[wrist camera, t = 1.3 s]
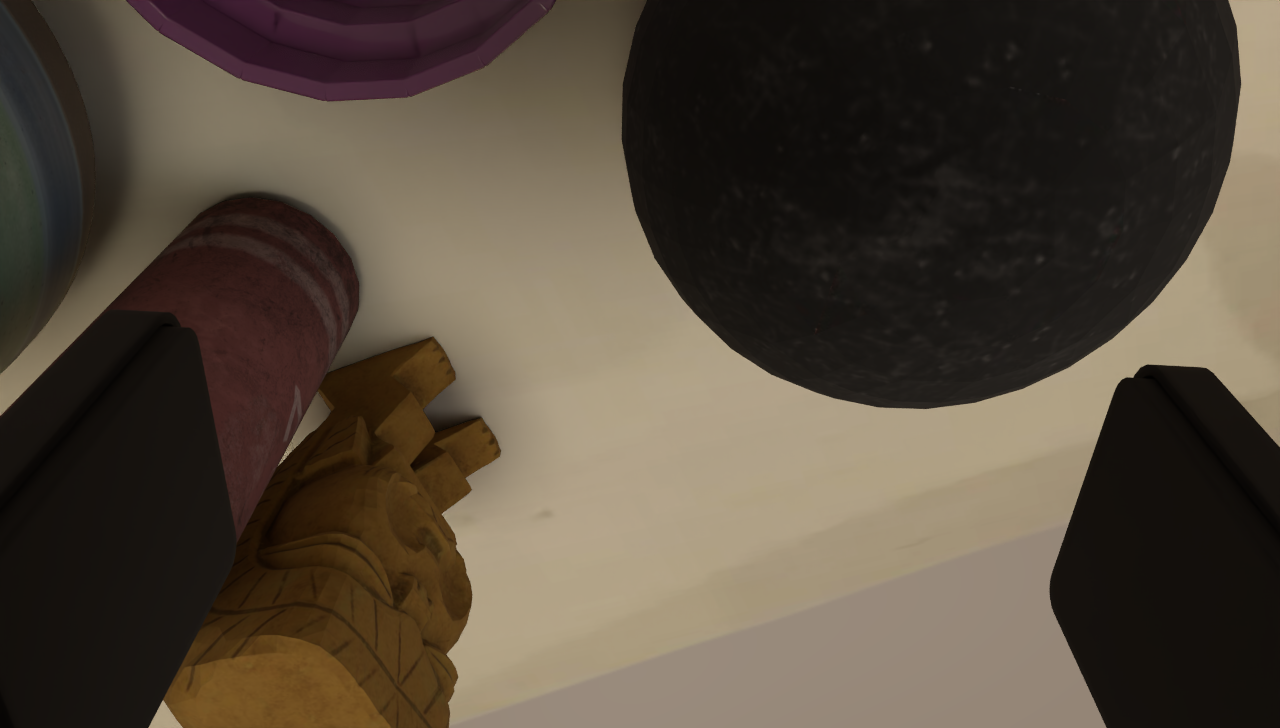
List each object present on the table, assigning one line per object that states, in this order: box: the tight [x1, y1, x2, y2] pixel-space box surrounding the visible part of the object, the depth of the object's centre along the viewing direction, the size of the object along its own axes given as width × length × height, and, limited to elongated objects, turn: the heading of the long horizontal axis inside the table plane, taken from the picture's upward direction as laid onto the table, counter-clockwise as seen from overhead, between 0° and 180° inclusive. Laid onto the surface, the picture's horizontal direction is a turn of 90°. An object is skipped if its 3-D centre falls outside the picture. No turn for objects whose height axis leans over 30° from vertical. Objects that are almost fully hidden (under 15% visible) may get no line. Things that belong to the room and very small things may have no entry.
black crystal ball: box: [622, 0, 1241, 409], centre depth 24 cm, size 13×13×15 cm
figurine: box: [163, 337, 501, 728], centre depth 32 cm, size 7×6×15 cm
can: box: [0, 197, 359, 542], centre depth 29 cm, size 6×6×14 cm
